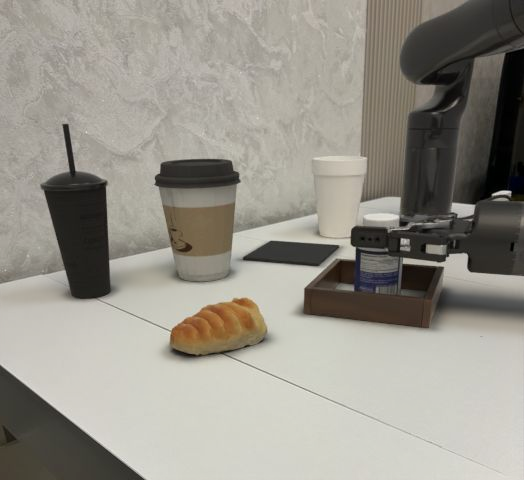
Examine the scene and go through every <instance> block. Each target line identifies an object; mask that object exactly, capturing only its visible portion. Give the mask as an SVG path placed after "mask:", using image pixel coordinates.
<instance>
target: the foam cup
mask: <svg viewBox="0 0 524 480" xmlns="http://www.w3.org/2000/svg"><path fill="white" fill-rule="evenodd" d="M367 173H368V157H366V156H359V155H358V156H357V155H327V156H318V157H317V156H316V157H312V158H311V174H312V178H313V186H314V187H313V188H314V197H315V206H316V215H317V224H318V231H319V235H320V236H321V237H325V238H333V239H336V238H338V239H339V238H342V239H343V238H349V237H350V238H351V229H352V228H353V227H354V226H357V225H358V218H359V213H360V207H361V200H362V195H363V190H364V183H365V179H366V174H367Z"/></svg>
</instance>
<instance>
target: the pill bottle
mask: <svg viewBox="0 0 524 480" xmlns="http://www.w3.org/2000/svg"><path fill="white" fill-rule="evenodd" d="M362 226H373V227H390V226H394V227H399V214H395V213H388V212H387V213H386V212H375V213H368V214H365V215H363V217H362ZM401 245H405V239H403V238H401ZM354 257H355V258H354V260H355V281H354V284H353V286H354V287H353V291H361V292H371V293H382V294H392V295H401V292H402V288H401V281H402V266H403V264H404V258H401V257H391V256H388V252H387V251H385V249H377V248H361V247H355V254H354Z"/></svg>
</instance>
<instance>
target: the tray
mask: <svg viewBox="0 0 524 480" xmlns="http://www.w3.org/2000/svg"><path fill="white" fill-rule="evenodd" d="M444 273H445V266H440V265H428V264H427V265H426V264H412V263H403V266H402V281H401V289H407V290H419V291H427V292H426V295H425V297H422V296H411V295H401V294H400V295H392V294H382V293H371V292H361V291H354V290H350V289H349V290H348V289H339V288H337V286H338V285H339V284H340V283H343V284H353V285H354V281H355V259H349V258H337V257H336V258H335V259H334V260H332V262H331V263H329V265H327V266H326V267H325V268H324V269H323V270H322V271H321V272H320V273H319V274H317V275H316V277H314V278H313V279H312V280H311V281H310V282H309V283H308V284H307V285H306V286H305V287H304V288H303V314H304V315H305V314H306V315H313V316H323V317H331V318H341V319H349V320H358V321H364V322H365V321H366V322H375V323H383V324H392V325H401V326H409V327H417V328H427V329H429V328H430V326H431V323H432V320H433V317H434V314H435V311H436V308H437V305H438V303H439V299H440V296H441V293H442V291H443V283H444Z"/></svg>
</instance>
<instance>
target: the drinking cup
mask: <svg viewBox="0 0 524 480" xmlns="http://www.w3.org/2000/svg"><path fill="white" fill-rule="evenodd" d="M61 126H62V131H63V138H64V144H65V145H64V146H65V150H66V156H67V157H66V158H67V163H68V164H67V165H68V171H64V172H60V173H57V174H55V175H53V176H51V177H50V178H48V179H47V180H46V181H44V182H41V183H40V186H39V187H40V189H41V190H42V191H43V193H44V198H45V201H46V204H47V209H48V211H49V212H48V213H49V216H50V220H51V223H52V226H53V229H54V230H53V231H54V234H55V238H56V242H57V245H58V249H59V252H60V257H61V260H62V264H63V268H64V271H65V274H66V278H67V282H68V286H69V289H70V294H71V296H72V297H73V298H76V299H94V298H100V297H104V296H106V295H108V294H109V293H111V291H112V289H111V267H110V266H111V265H110V264H111V263H110V245H109V243H110V242H109V224H108V222H109V221H108V201H107V186H109V181H108V179H105V178H102V177H100V176H98V175H96V174H94V173H91V172H87V171H82V170H76V164H75V158H74V151H73V145H72V138H71V137H72V136H71V132H70V125H69V123H62V124H61Z"/></svg>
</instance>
